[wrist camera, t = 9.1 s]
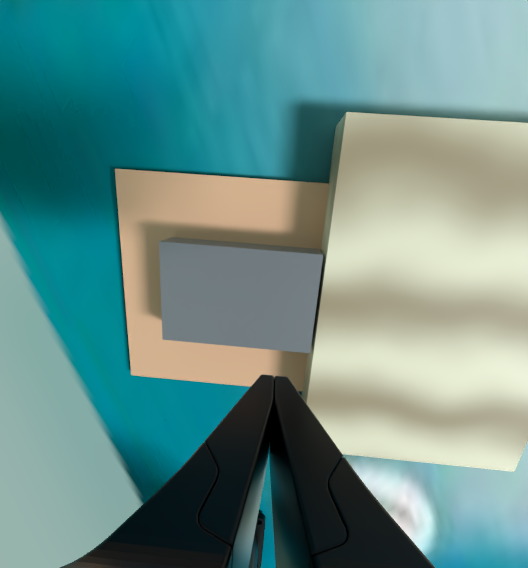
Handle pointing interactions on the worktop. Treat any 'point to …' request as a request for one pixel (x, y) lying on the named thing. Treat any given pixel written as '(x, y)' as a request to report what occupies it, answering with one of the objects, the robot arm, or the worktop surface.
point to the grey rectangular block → (239, 293)
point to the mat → (207, 226)
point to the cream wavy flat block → (424, 292)
